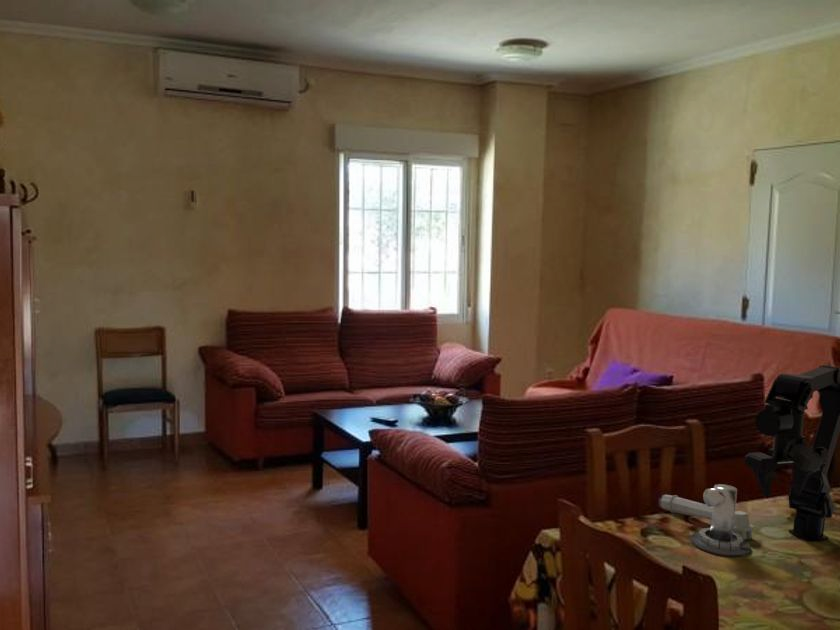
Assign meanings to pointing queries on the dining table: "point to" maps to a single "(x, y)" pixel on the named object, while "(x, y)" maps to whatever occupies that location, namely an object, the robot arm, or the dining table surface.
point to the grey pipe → (704, 513)
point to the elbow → (721, 511)
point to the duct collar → (720, 544)
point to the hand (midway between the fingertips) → (781, 496)
